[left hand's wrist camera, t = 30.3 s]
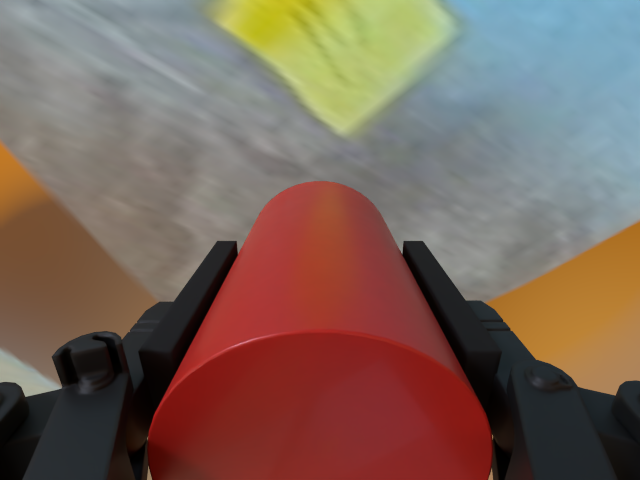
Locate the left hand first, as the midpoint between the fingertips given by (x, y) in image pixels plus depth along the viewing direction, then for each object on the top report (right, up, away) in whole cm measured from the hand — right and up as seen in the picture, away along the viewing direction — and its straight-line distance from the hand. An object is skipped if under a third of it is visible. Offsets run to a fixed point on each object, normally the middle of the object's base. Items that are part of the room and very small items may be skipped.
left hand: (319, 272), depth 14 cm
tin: (0, +1, +2) cm, 3 cm away
